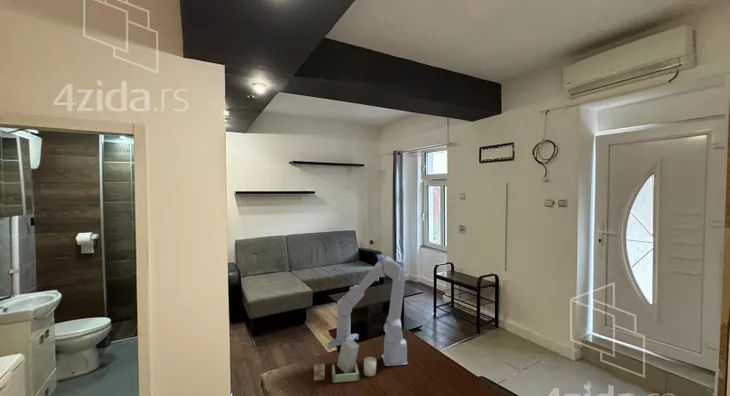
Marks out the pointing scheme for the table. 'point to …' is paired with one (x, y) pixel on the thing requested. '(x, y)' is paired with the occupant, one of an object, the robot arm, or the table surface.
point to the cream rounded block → (369, 366)
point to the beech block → (319, 371)
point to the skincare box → (348, 355)
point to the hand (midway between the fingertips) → (343, 360)
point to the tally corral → (345, 375)
